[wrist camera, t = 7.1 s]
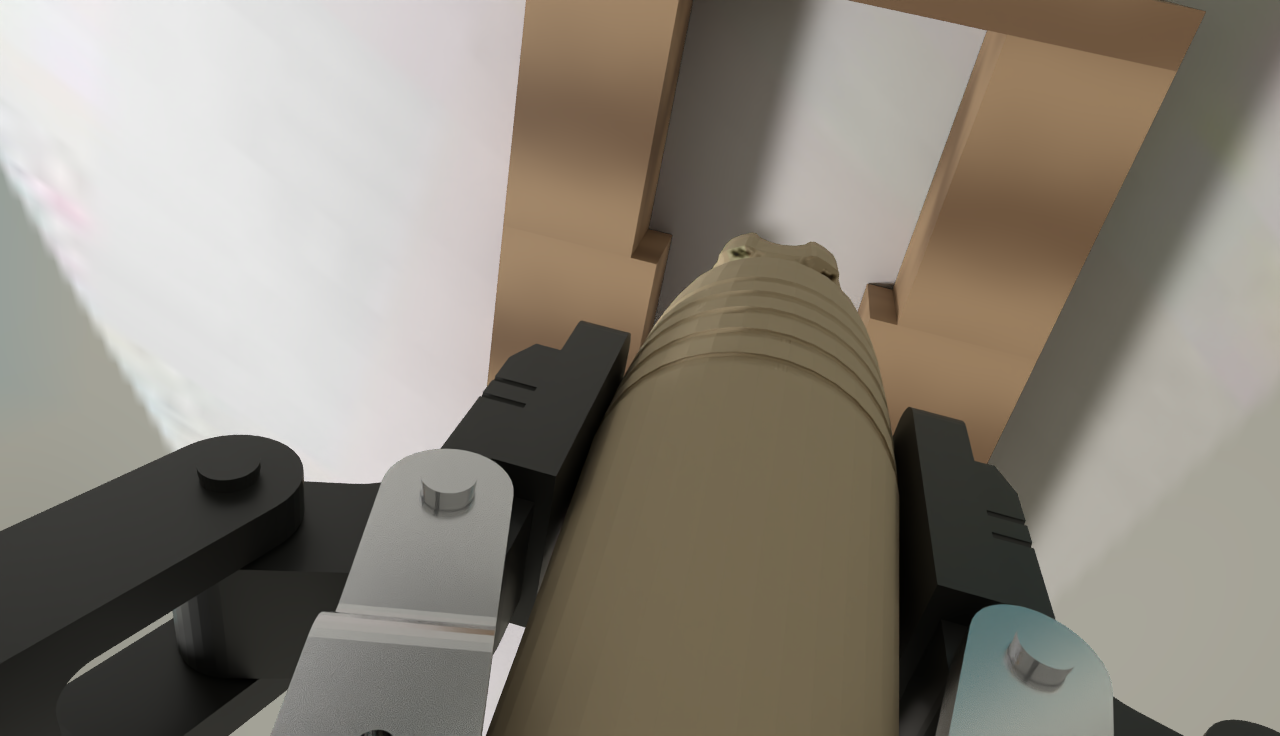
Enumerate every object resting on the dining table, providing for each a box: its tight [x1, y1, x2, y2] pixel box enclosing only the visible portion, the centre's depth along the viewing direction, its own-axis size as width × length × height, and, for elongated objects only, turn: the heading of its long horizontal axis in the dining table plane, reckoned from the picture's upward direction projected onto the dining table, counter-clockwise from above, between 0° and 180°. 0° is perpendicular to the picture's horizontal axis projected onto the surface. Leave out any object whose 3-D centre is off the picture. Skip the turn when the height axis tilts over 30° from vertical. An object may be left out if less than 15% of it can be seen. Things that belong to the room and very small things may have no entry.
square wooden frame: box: [487, 0, 1206, 464], centre depth 29 cm, size 22×18×3 cm
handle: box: [486, 233, 899, 736], centre depth 9 cm, size 5×6×15 cm
